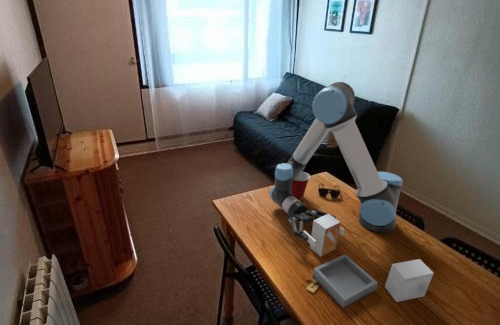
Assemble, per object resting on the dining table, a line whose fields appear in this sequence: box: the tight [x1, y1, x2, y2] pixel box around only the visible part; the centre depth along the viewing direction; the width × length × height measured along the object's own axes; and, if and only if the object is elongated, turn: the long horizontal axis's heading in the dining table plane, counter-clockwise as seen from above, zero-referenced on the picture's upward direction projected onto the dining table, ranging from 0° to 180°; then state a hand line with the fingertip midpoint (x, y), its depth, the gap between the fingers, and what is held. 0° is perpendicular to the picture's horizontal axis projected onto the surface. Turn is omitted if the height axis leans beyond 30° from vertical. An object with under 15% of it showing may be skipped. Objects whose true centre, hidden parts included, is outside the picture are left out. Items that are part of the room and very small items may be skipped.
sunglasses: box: [317, 183, 341, 199], centre depth 151 cm, size 10×12×5 cm
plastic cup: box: [291, 171, 311, 200], centre depth 145 cm, size 11×11×12 cm
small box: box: [309, 213, 341, 258], centre depth 111 cm, size 8×6×13 cm
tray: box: [312, 254, 379, 309], centre depth 99 cm, size 14×14×4 cm
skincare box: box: [384, 258, 434, 303], centre depth 94 cm, size 10×6×10 cm, turn 103°
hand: (329, 238), depth 109 cm, fingers open, 13 cm apart
